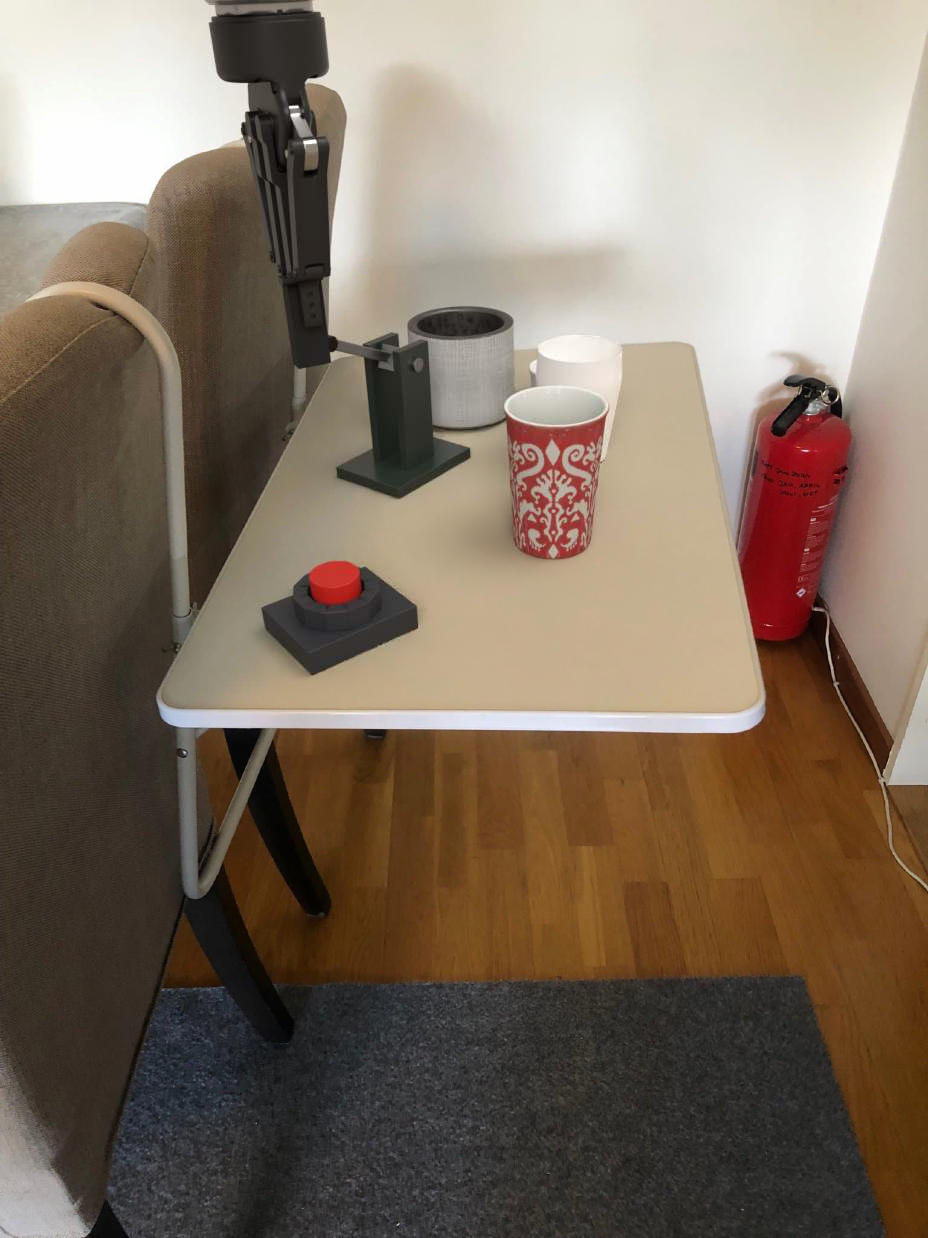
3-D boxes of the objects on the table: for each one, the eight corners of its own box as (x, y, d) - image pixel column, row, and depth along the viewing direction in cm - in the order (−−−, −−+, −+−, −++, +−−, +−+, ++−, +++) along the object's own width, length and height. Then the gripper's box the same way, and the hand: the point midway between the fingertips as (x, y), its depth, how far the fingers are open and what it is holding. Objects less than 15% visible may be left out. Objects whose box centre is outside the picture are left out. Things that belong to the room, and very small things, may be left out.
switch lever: (324, 356, 82) (329, 329, 82) (286, 346, 85) (291, 319, 84) (421, 378, 94) (426, 354, 93) (384, 368, 96) (389, 345, 96)
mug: (603, 566, 82) (612, 424, 75) (502, 564, 83) (501, 424, 75) (597, 500, 93) (605, 370, 85) (508, 499, 93) (507, 370, 86)
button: (327, 611, 71) (324, 593, 70) (302, 590, 74) (299, 571, 73) (371, 593, 73) (369, 575, 72) (345, 573, 76) (343, 555, 75)
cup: (621, 472, 98) (629, 361, 91) (536, 474, 98) (538, 364, 91) (611, 437, 105) (618, 332, 98) (532, 439, 105) (533, 335, 98)
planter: (534, 406, 113) (535, 314, 107) (475, 441, 105) (472, 345, 99) (452, 386, 120) (449, 299, 113) (391, 419, 111) (383, 327, 105)
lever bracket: (399, 499, 94) (388, 367, 86) (336, 476, 99) (321, 350, 91) (470, 457, 102) (467, 333, 94) (409, 438, 107) (401, 319, 99)
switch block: (312, 675, 71) (305, 633, 68) (264, 629, 76) (257, 588, 74) (418, 627, 75) (415, 587, 73) (367, 587, 81) (363, 547, 79)
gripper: (355, 6, 56) (386, 379, 70) (290, 5, 66) (329, 333, 79) (234, 12, 54) (291, 398, 67) (186, 10, 63) (244, 348, 77)
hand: (312, 362), depth 73 cm, fingers closed
